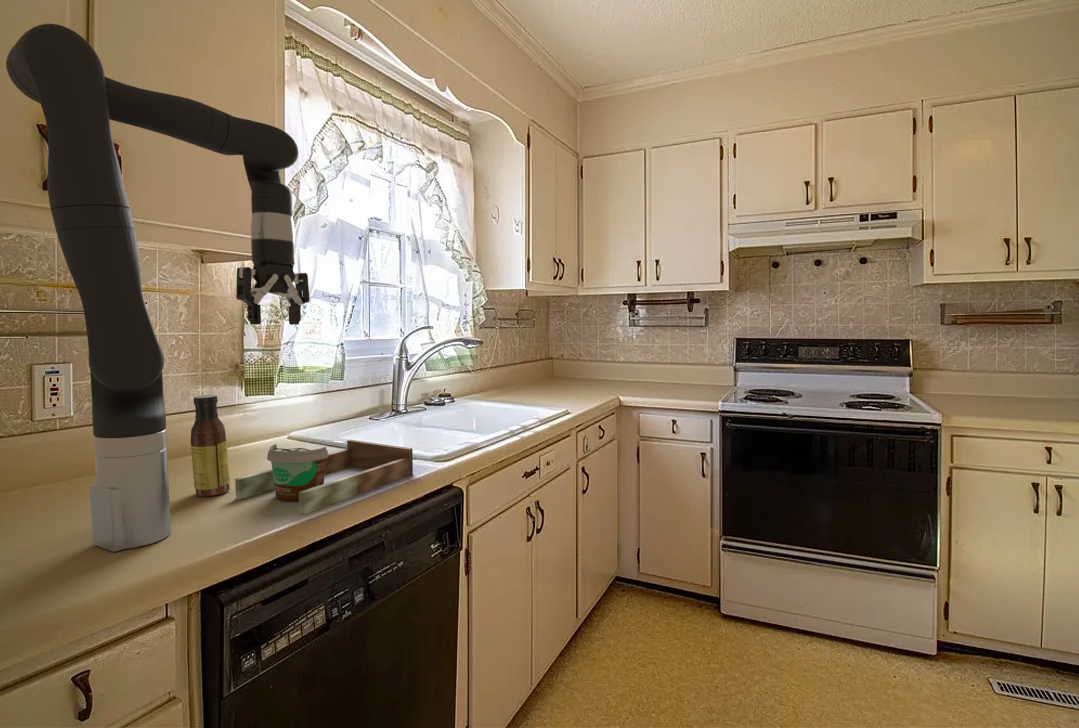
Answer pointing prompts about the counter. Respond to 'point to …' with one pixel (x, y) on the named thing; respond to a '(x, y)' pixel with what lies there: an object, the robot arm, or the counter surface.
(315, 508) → the crate bay
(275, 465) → the food container
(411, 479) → the counter surface
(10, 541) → the counter surface
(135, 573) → the counter surface
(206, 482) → the sauce bottle
